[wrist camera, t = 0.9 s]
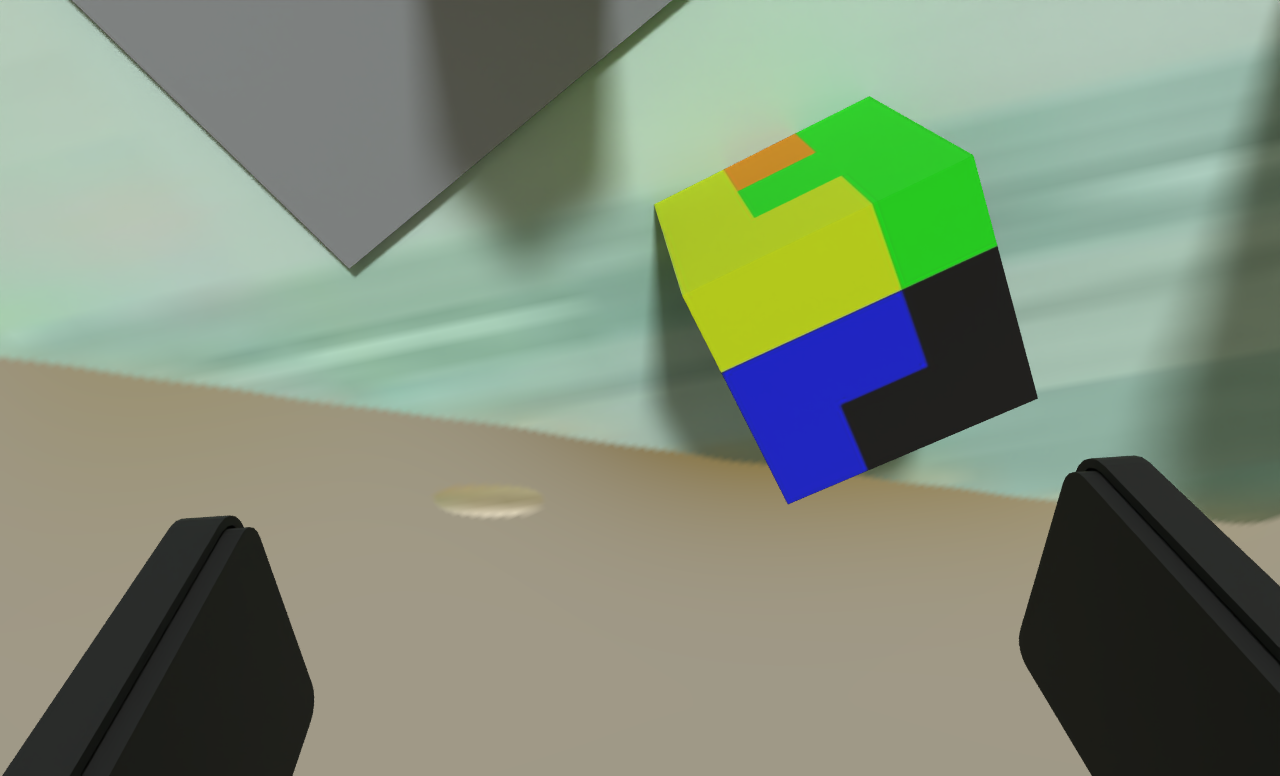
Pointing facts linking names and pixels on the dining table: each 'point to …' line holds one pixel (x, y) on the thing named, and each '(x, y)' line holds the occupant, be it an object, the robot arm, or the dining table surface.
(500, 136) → the rubber mat
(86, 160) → the dining table surface
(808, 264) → the puzzle toy
